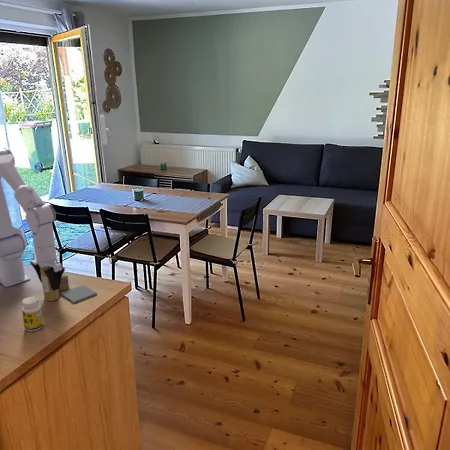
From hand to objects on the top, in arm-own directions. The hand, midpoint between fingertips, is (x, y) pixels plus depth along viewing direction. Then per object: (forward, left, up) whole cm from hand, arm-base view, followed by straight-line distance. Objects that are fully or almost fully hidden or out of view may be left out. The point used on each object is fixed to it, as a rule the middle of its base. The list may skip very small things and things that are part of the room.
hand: (50, 285), depth 130 cm
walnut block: (-5, +5, -4) cm, 8 cm away
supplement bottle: (+12, -11, -5) cm, 17 cm away
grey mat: (+4, +7, -4) cm, 9 cm away
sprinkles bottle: (0, 0, -5) cm, 5 cm away
